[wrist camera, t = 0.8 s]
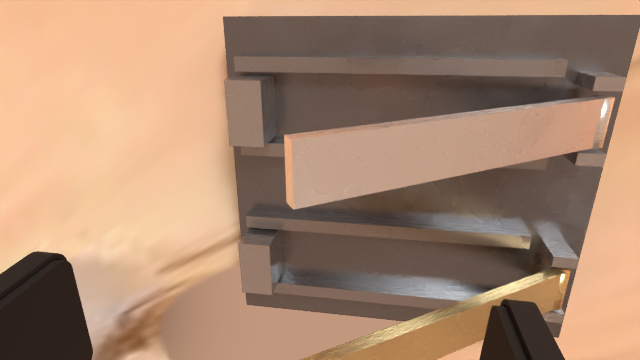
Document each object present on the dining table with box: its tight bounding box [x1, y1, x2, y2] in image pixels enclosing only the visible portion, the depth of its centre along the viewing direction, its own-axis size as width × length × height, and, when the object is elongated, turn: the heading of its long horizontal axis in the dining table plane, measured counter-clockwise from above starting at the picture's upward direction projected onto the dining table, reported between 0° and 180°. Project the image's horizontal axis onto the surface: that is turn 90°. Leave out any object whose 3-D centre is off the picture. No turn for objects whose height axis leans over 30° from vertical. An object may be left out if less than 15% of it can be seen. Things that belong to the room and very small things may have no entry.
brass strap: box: [301, 267, 570, 360], centre depth 26 cm, size 21×3×1 cm
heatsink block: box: [223, 15, 640, 338], centre depth 31 cm, size 26×24×7 cm
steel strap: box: [284, 95, 615, 210], centre depth 21 cm, size 21×3×1 cm
